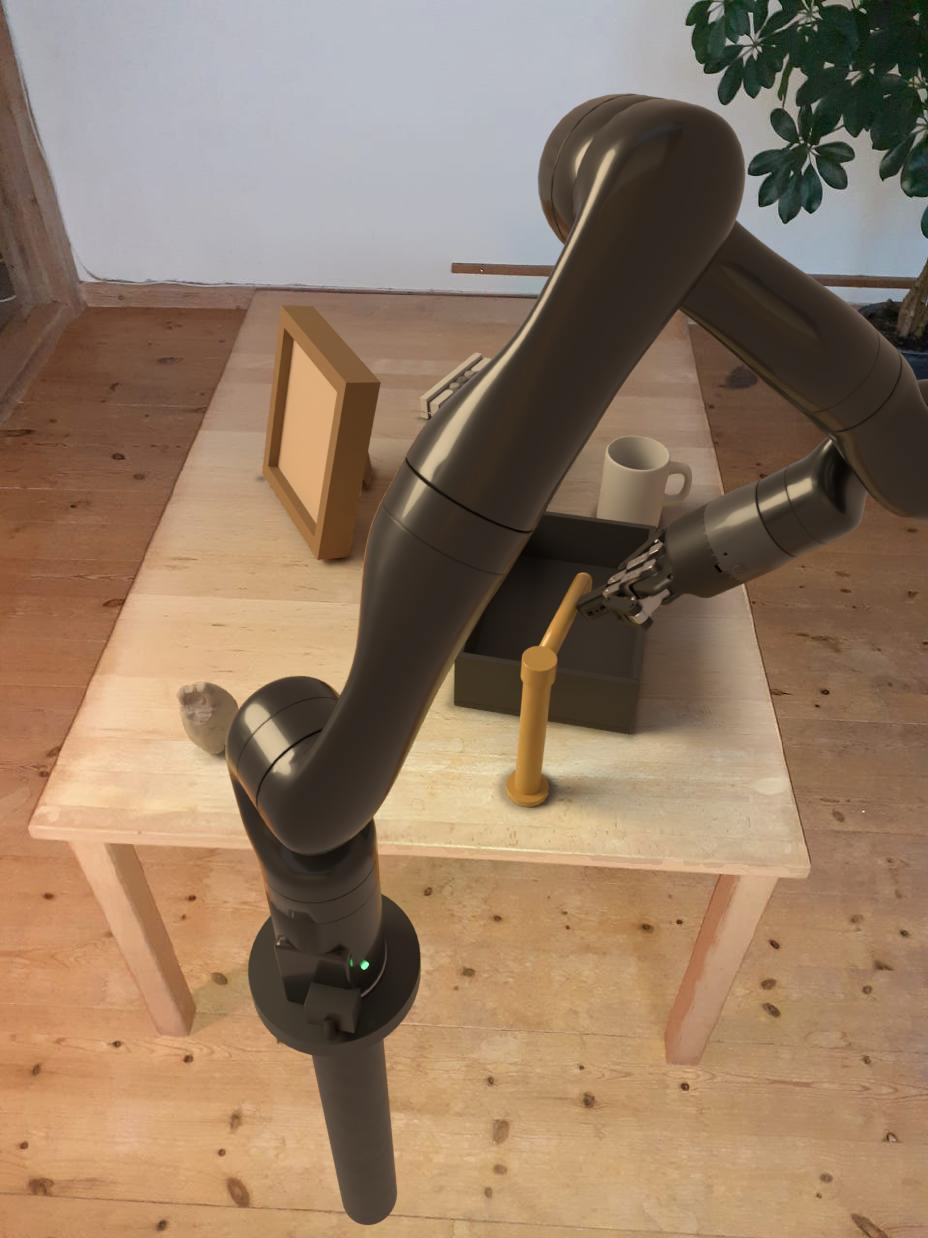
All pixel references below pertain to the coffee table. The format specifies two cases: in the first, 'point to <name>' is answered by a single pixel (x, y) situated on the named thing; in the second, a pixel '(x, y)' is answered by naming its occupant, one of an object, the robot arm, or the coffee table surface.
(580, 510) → the coffee table surface
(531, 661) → the faucet spout
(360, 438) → the photo frame
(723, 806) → the coffee table surface
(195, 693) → the fossil
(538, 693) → the faucet column
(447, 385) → the alarm clock
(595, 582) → the sink
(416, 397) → the coffee table surface
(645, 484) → the mug
